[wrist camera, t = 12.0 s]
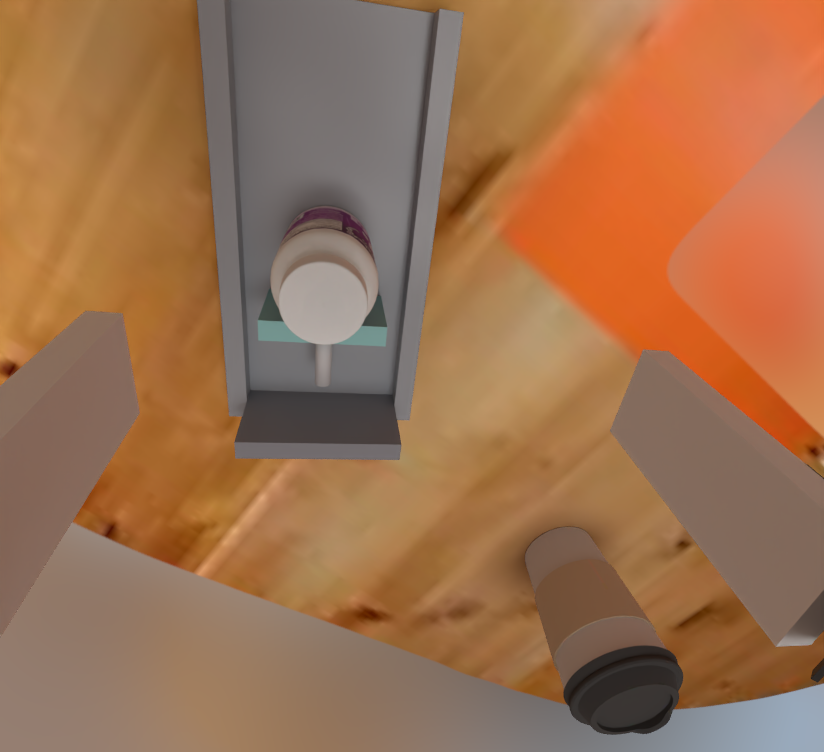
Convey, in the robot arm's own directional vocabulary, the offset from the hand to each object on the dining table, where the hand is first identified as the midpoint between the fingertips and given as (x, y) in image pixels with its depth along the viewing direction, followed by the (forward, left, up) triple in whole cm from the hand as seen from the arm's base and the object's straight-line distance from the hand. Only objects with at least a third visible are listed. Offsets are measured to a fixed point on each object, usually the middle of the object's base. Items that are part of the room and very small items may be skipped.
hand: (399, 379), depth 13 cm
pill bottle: (+2, -2, -20) cm, 20 cm away
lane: (+2, -2, -20) cm, 21 cm away
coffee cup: (+31, +21, -21) cm, 43 cm away
